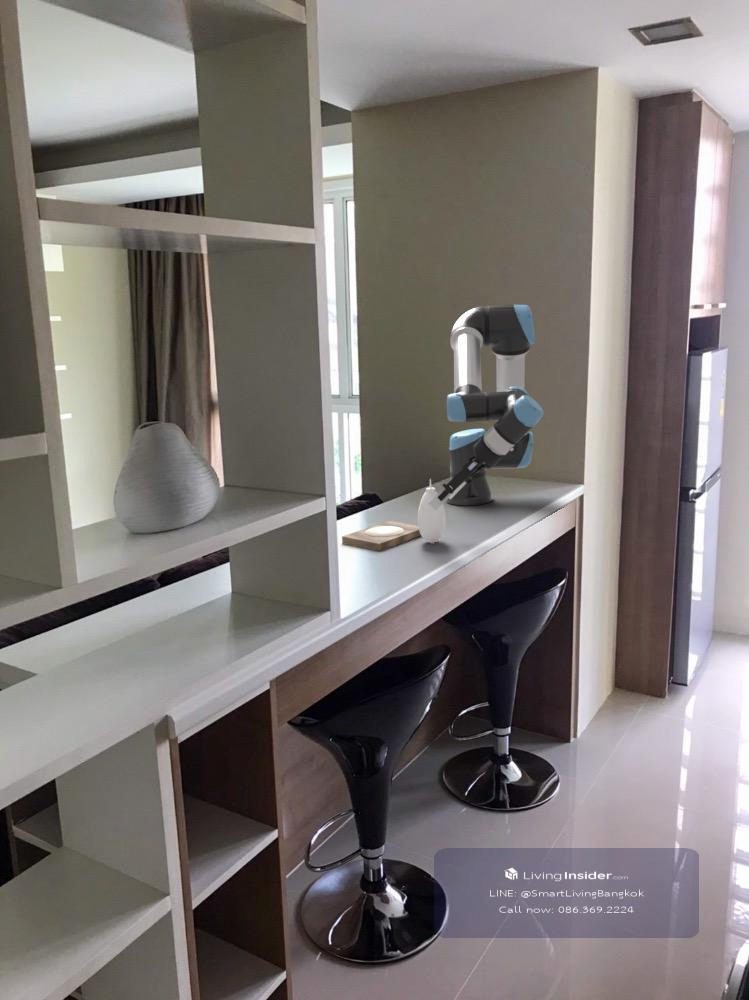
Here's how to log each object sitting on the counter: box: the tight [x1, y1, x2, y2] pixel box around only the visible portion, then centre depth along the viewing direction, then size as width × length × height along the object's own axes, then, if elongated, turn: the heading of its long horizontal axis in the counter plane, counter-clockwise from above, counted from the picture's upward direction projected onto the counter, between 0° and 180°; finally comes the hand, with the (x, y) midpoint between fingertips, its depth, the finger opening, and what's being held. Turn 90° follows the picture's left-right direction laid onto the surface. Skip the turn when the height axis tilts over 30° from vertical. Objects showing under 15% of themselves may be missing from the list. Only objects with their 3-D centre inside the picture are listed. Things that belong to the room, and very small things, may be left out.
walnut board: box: [341, 520, 421, 552], centre depth 235 cm, size 20×14×2 cm
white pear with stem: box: [416, 478, 447, 544], centre depth 226 cm, size 8×8×18 cm
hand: (439, 501), depth 224 cm, fingers open, 13 cm apart
